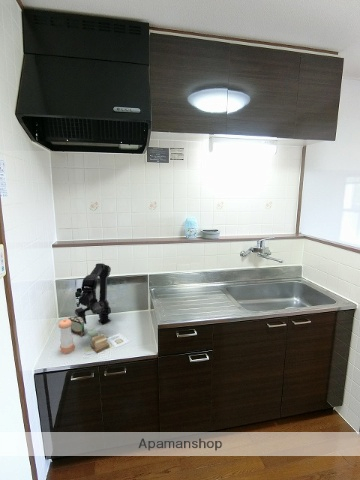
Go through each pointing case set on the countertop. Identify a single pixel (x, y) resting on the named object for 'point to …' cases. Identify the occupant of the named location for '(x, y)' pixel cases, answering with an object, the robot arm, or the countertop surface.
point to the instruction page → (117, 340)
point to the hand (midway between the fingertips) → (92, 320)
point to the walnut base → (99, 347)
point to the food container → (77, 325)
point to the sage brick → (92, 334)
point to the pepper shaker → (66, 336)
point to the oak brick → (99, 341)
